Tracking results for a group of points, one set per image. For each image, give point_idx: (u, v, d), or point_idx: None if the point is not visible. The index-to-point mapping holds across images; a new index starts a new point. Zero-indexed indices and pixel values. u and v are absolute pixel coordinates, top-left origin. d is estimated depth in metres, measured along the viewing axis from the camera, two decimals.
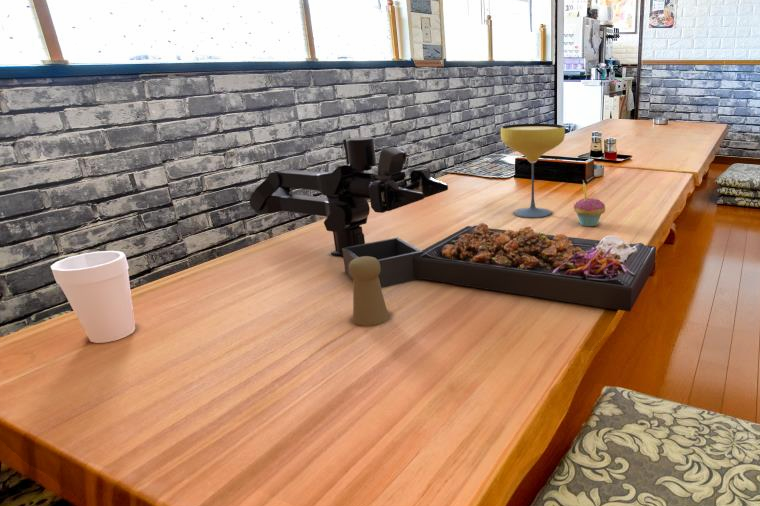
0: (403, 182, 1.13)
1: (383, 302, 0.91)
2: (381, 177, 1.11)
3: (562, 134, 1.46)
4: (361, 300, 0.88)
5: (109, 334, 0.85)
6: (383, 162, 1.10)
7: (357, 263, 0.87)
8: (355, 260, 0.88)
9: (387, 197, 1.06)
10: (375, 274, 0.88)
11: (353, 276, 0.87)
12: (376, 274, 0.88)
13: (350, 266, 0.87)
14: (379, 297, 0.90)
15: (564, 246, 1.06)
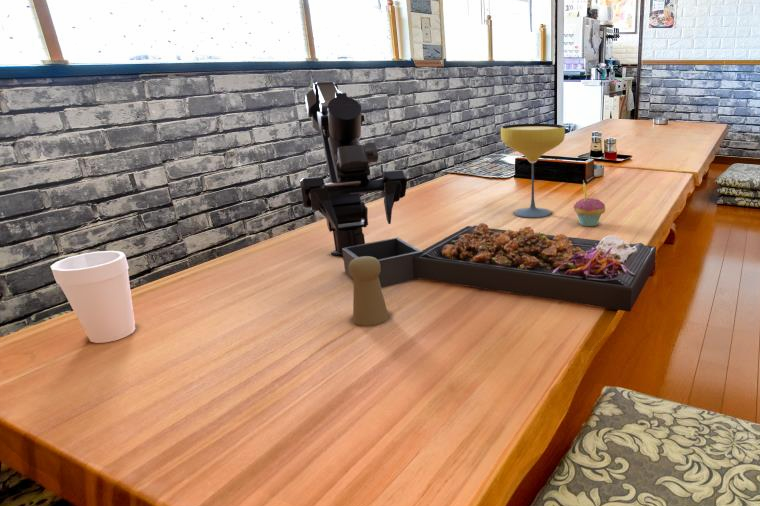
0: (358, 183, 0.97)
1: (383, 302, 0.91)
2: (335, 167, 0.96)
3: (562, 134, 1.46)
4: (361, 300, 0.88)
5: (109, 334, 0.85)
6: (338, 158, 0.93)
7: (357, 263, 0.87)
8: (355, 260, 0.88)
9: (312, 201, 0.95)
10: (375, 274, 0.88)
11: (353, 276, 0.87)
12: (376, 274, 0.88)
13: (350, 266, 0.87)
14: (379, 297, 0.90)
15: (564, 246, 1.06)
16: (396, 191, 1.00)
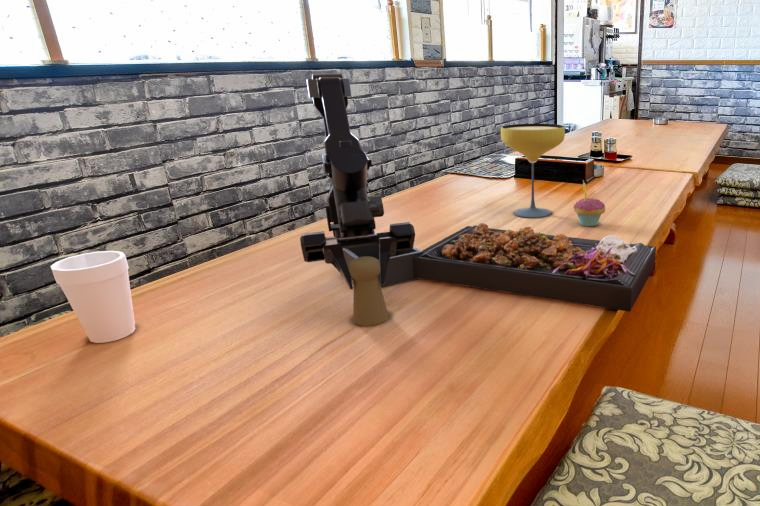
0: (374, 236, 0.91)
1: (383, 302, 0.91)
2: (338, 220, 0.89)
3: (562, 134, 1.46)
4: (361, 300, 0.88)
5: (109, 334, 0.85)
6: (341, 213, 0.87)
7: (358, 263, 0.87)
8: (355, 260, 0.88)
9: (326, 256, 0.89)
10: (375, 274, 0.88)
11: (353, 276, 0.87)
12: (376, 274, 0.88)
13: (350, 266, 0.87)
14: (379, 297, 0.90)
15: (564, 246, 1.06)
16: (392, 247, 0.92)
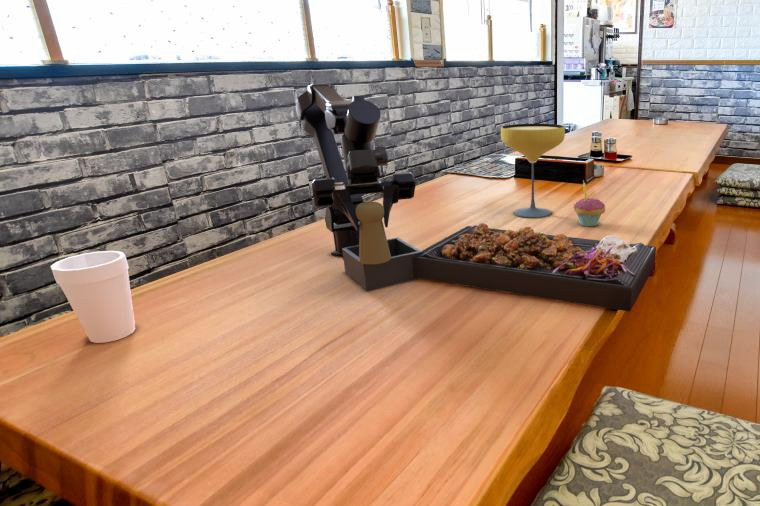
0: (379, 184, 1.01)
1: (386, 244, 1.00)
2: (346, 168, 0.98)
3: (562, 134, 1.46)
4: (367, 240, 0.98)
5: (109, 334, 0.85)
6: (349, 161, 0.96)
7: (364, 206, 0.96)
8: (361, 204, 0.97)
9: (334, 201, 0.98)
10: (379, 217, 0.97)
11: (359, 218, 0.96)
12: (381, 217, 0.97)
13: (357, 209, 0.96)
14: (383, 238, 0.99)
15: (564, 246, 1.06)
16: (394, 194, 1.01)
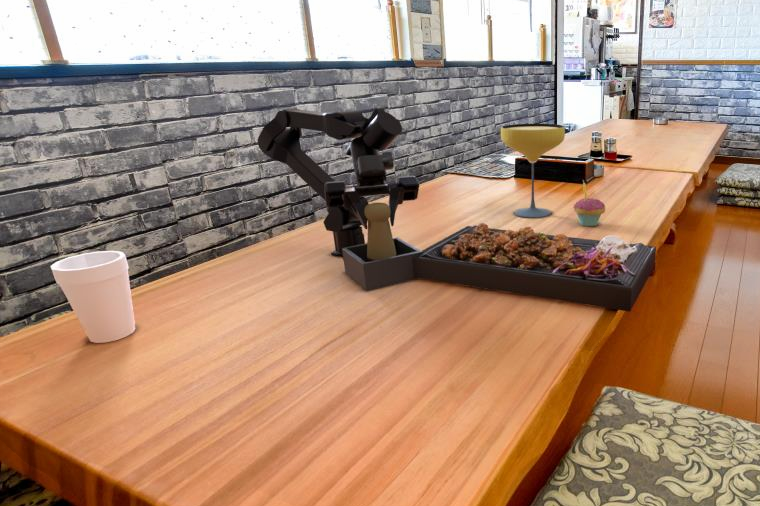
0: (385, 186, 1.09)
1: (392, 241, 1.09)
2: (355, 172, 1.07)
3: (562, 134, 1.46)
4: (374, 238, 1.06)
5: (109, 334, 0.85)
6: (358, 165, 1.05)
7: (372, 206, 1.05)
8: (370, 204, 1.06)
9: (345, 202, 1.07)
10: (386, 216, 1.06)
11: (368, 217, 1.05)
12: (387, 217, 1.06)
13: (365, 209, 1.05)
14: (389, 236, 1.08)
15: (564, 246, 1.06)
16: (399, 196, 1.10)
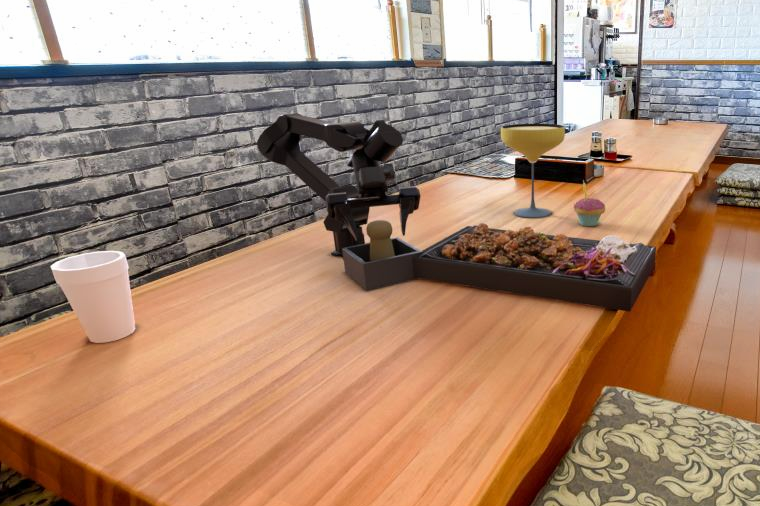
0: (377, 198, 1.10)
1: None
2: (357, 184, 1.08)
3: (562, 134, 1.46)
4: (376, 255, 1.08)
5: (109, 334, 0.85)
6: (360, 177, 1.05)
7: (374, 224, 1.06)
8: (372, 222, 1.07)
9: (336, 214, 1.07)
10: (388, 234, 1.07)
11: (370, 235, 1.07)
12: (389, 234, 1.08)
13: (368, 227, 1.07)
14: (391, 253, 1.09)
15: (564, 246, 1.06)
16: (410, 205, 1.12)
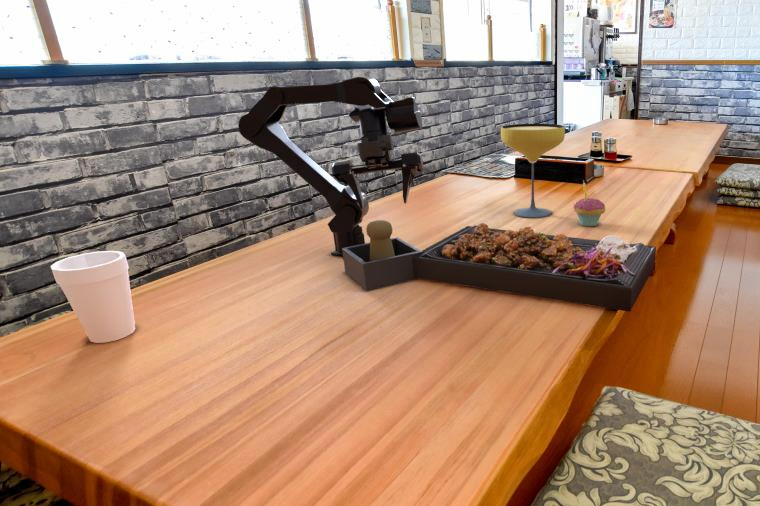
0: (380, 165, 1.13)
1: None
2: None
3: (562, 134, 1.46)
4: (376, 255, 1.08)
5: (109, 334, 0.85)
6: None
7: (374, 224, 1.06)
8: (372, 222, 1.07)
9: (343, 181, 1.14)
10: (388, 234, 1.07)
11: (370, 235, 1.07)
12: (389, 234, 1.08)
13: (368, 227, 1.07)
14: (391, 253, 1.09)
15: (564, 246, 1.06)
16: (413, 171, 1.14)
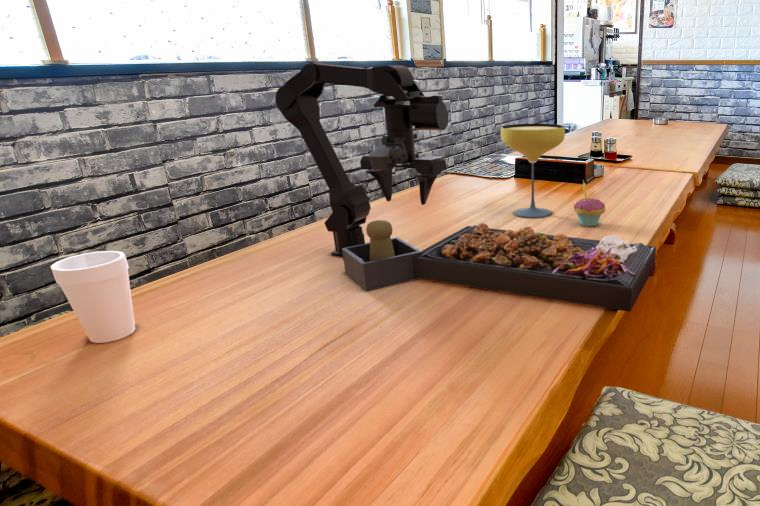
0: (401, 164, 1.12)
1: None
2: None
3: (562, 134, 1.46)
4: (376, 255, 1.08)
5: (109, 334, 0.85)
6: None
7: (374, 224, 1.06)
8: (372, 222, 1.07)
9: None
10: (388, 234, 1.07)
11: (370, 235, 1.07)
12: (389, 234, 1.08)
13: (368, 227, 1.07)
14: (391, 253, 1.09)
15: (564, 246, 1.06)
16: None
